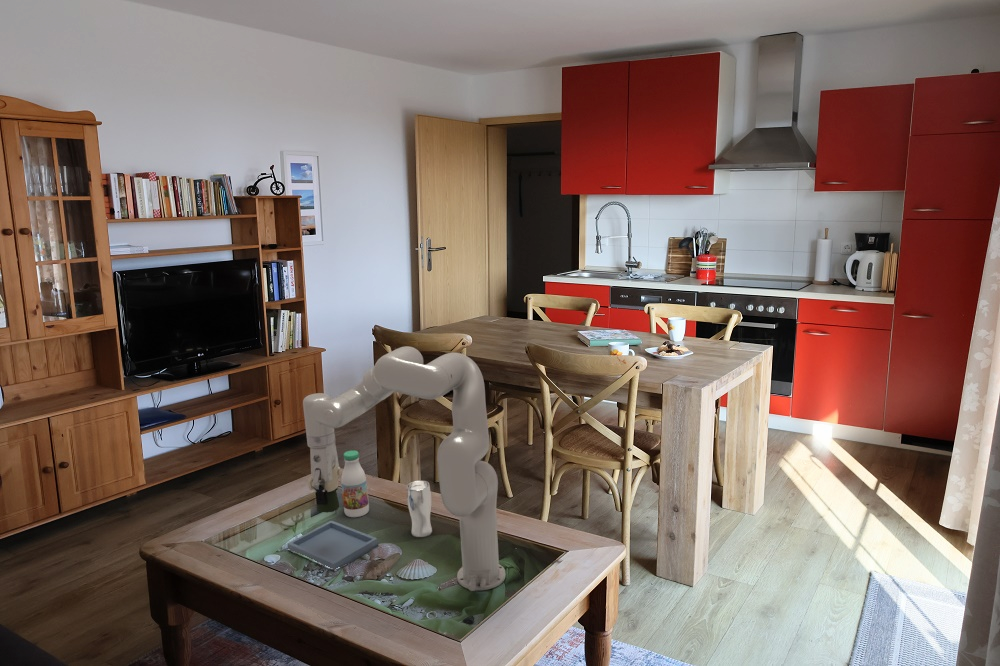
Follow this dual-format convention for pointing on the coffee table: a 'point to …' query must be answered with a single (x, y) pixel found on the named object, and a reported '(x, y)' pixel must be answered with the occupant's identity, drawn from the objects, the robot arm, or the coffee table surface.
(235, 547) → the coffee table surface
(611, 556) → the coffee table surface
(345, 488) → the milk bottle
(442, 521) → the coffee table surface
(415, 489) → the beer glass
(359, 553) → the tray
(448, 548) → the coffee table surface
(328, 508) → the character mug
